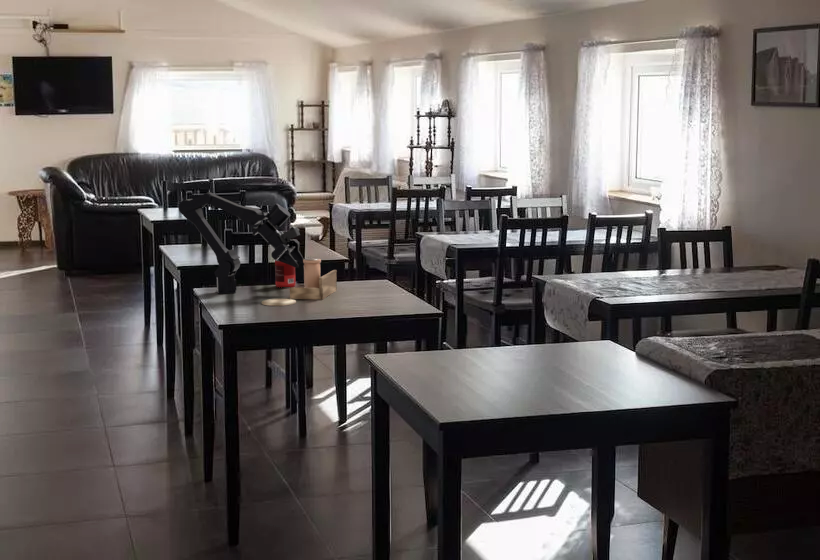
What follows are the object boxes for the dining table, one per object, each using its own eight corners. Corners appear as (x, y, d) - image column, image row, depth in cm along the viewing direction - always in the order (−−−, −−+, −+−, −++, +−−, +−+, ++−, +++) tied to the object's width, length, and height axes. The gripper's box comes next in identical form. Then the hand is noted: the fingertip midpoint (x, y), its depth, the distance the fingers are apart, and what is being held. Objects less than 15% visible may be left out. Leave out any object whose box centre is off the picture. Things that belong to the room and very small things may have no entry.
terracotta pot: (305, 296, 405) (305, 260, 403) (301, 293, 411) (301, 258, 409) (323, 295, 407) (322, 260, 405) (319, 292, 413) (318, 258, 411)
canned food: (297, 285, 432) (296, 257, 431) (293, 288, 424) (292, 259, 423) (278, 284, 433) (277, 256, 431) (273, 288, 425) (272, 259, 424)
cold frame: (290, 298, 400) (289, 277, 399) (305, 289, 420) (305, 269, 419) (322, 299, 398) (322, 278, 396) (336, 290, 418) (336, 270, 417)
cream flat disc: (265, 306, 383) (265, 305, 383) (259, 301, 394) (259, 299, 394) (299, 304, 387) (299, 303, 386) (292, 299, 398) (292, 297, 398)
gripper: (278, 222, 397) (309, 253, 397) (293, 217, 416) (322, 247, 415) (258, 244, 400) (288, 274, 400) (274, 238, 418) (303, 267, 418)
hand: (301, 265), depth 408 cm, fingers open, 9 cm apart
